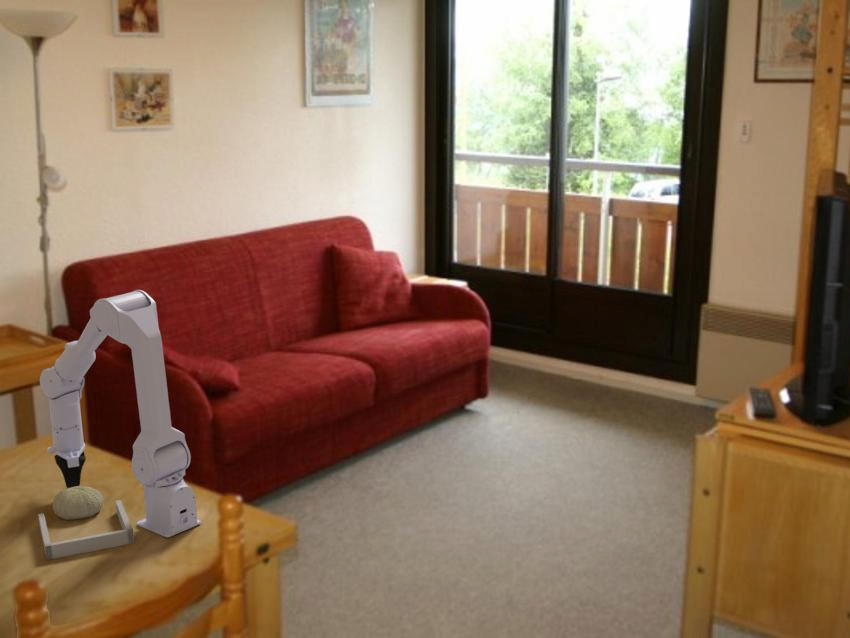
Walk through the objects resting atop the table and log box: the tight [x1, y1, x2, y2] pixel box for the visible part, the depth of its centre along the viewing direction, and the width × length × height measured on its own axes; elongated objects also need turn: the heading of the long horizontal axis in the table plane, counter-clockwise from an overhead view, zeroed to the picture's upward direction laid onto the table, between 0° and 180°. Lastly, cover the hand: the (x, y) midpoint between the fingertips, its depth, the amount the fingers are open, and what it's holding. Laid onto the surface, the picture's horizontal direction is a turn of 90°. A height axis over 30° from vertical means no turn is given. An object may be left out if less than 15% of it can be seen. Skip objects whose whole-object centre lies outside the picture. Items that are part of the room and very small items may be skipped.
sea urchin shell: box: [52, 485, 104, 521], centre depth 203 cm, size 9×8×8 cm
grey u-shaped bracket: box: [37, 499, 135, 561], centre depth 193 cm, size 15×15×2 cm
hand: (73, 489), depth 211 cm, fingers closed
